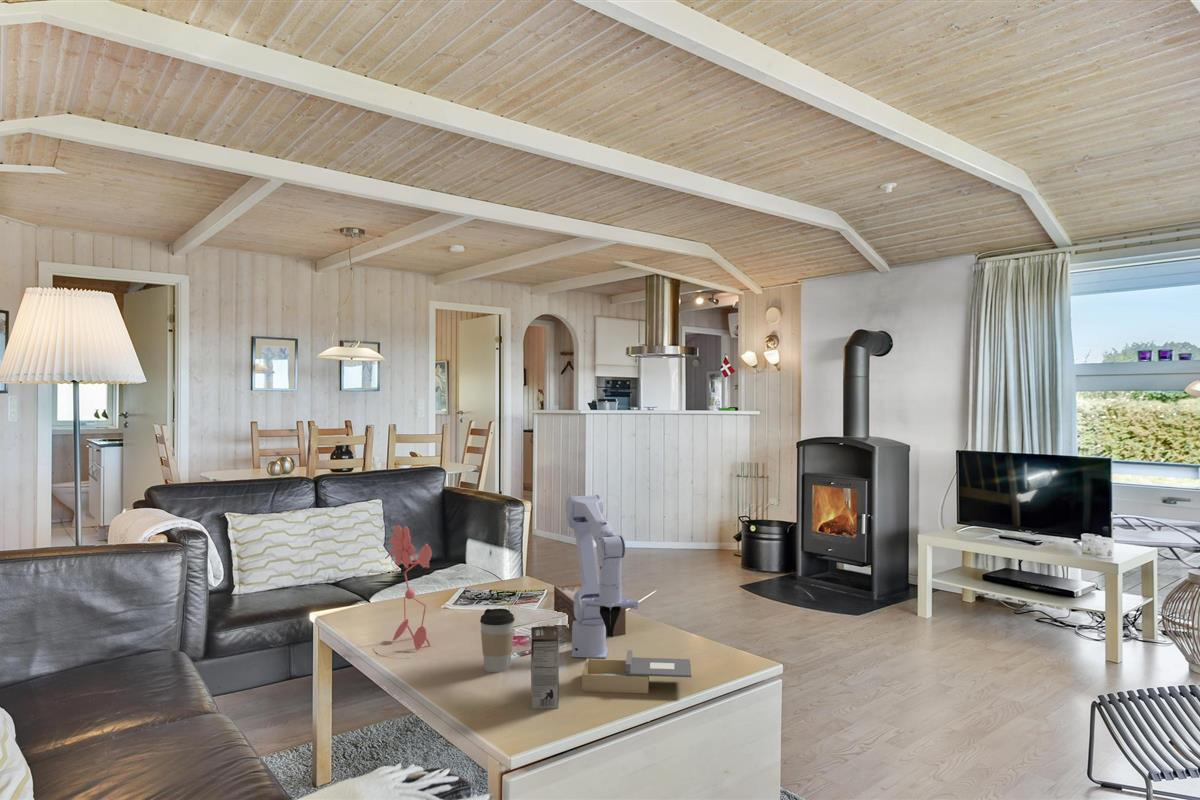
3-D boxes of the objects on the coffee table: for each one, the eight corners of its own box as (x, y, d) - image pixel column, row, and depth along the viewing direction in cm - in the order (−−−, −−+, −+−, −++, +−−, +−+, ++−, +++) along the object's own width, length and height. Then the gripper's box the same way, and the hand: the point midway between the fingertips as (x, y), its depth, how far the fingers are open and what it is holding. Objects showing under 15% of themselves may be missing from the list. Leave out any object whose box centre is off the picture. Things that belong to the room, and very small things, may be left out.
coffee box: (531, 693, 176) (531, 626, 176) (558, 692, 176) (558, 625, 176) (530, 709, 167) (530, 638, 167) (559, 708, 167) (559, 637, 167)
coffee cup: (520, 663, 196) (520, 607, 196) (505, 675, 187) (505, 617, 187) (489, 659, 199) (490, 604, 199) (473, 671, 190) (473, 613, 190)
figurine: (403, 630, 223) (401, 516, 223) (448, 652, 204) (445, 527, 204) (354, 643, 213) (352, 523, 212) (397, 667, 194) (395, 535, 193)
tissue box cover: (554, 616, 239) (554, 585, 239) (595, 612, 244) (595, 582, 244) (580, 640, 215) (580, 606, 215) (625, 635, 220) (625, 602, 220)
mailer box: (581, 691, 177) (581, 674, 177) (586, 674, 188) (586, 658, 188) (648, 693, 176) (648, 676, 176) (649, 676, 187) (649, 660, 187)
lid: (624, 675, 176) (624, 664, 176) (626, 659, 187) (626, 649, 187) (691, 677, 175) (691, 666, 175) (689, 661, 186) (689, 651, 186)
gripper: (580, 586, 185) (580, 639, 186) (637, 587, 184) (637, 641, 184) (583, 579, 193) (583, 630, 193) (639, 580, 191) (638, 632, 191)
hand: (610, 635), depth 189 cm, fingers closed
